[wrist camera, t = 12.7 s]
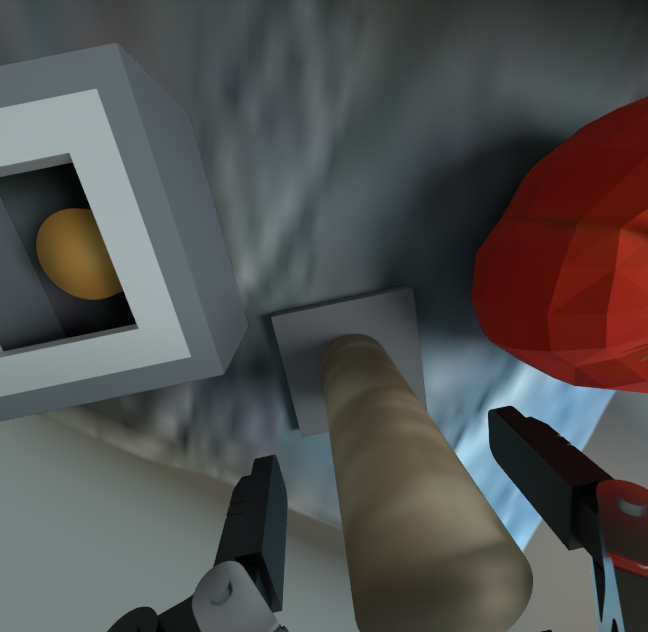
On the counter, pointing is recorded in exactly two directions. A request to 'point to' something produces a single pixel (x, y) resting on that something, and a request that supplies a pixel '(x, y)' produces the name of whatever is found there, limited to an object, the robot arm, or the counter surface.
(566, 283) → the tomato
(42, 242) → the orange dome
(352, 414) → the beige ridged cylinder
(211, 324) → the box
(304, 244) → the counter surface
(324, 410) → the mat
